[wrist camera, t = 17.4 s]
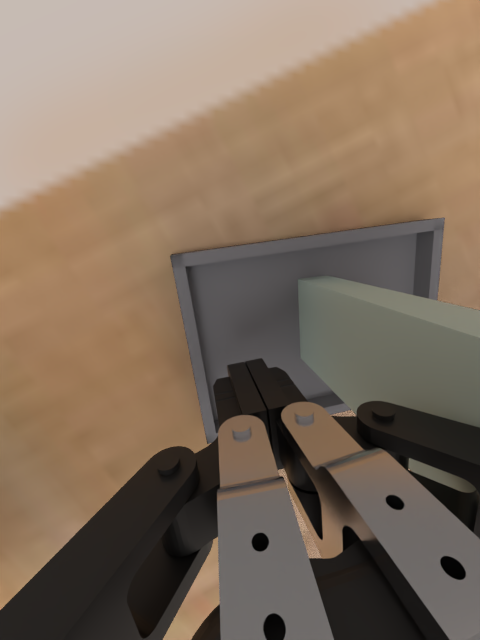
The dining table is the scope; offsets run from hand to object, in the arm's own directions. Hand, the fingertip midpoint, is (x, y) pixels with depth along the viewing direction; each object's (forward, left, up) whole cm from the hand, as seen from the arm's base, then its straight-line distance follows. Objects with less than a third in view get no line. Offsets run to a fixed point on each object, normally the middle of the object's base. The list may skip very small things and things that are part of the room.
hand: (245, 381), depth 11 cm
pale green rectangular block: (+5, +1, -5) cm, 7 cm away
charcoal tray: (+5, 0, -5) cm, 7 cm away
